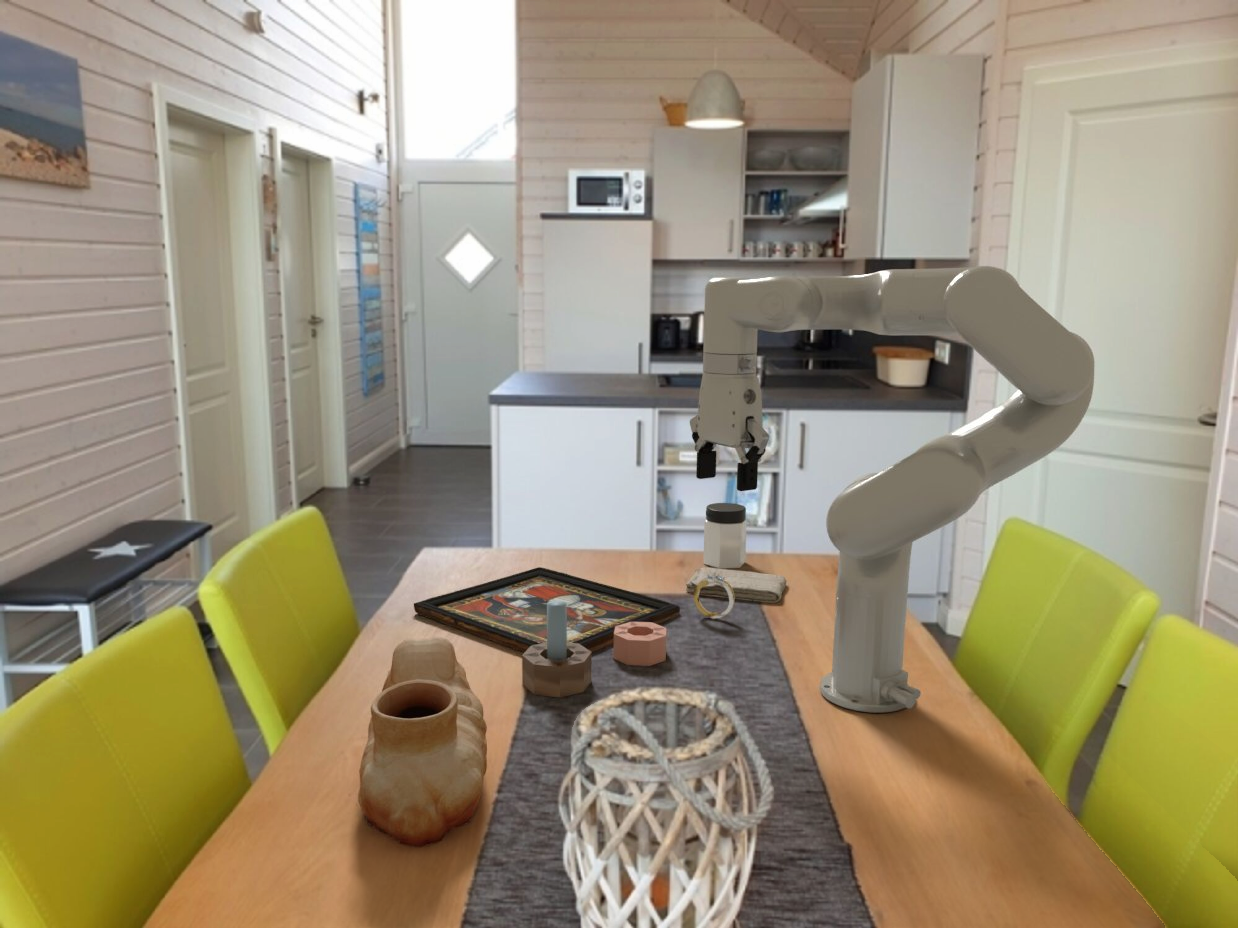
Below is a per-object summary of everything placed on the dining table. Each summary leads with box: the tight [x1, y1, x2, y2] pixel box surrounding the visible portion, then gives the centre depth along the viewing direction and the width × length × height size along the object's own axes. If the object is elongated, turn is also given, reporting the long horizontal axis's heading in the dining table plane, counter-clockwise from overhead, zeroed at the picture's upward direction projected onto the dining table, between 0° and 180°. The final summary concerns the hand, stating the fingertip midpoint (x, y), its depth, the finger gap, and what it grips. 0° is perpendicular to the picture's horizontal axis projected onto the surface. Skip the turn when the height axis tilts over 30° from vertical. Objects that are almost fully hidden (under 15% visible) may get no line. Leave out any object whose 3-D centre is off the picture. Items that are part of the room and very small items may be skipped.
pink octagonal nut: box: [612, 622, 667, 667], centre depth 148 cm, size 8×8×4 cm
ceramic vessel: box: [357, 636, 488, 848], centre depth 108 cm, size 14×26×15 cm, turn 8°
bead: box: [521, 642, 592, 699], centre depth 137 cm, size 9×9×4 cm
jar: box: [703, 502, 748, 569], centre depth 197 cm, size 9×8×12 cm
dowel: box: [547, 601, 567, 660], centre depth 136 cm, size 3×3×12 cm
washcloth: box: [685, 566, 787, 604], centre depth 181 cm, size 12×18×3 cm, turn 74°
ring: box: [693, 572, 736, 620], centre depth 164 cm, size 7×3×8 cm, turn 62°
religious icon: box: [413, 566, 681, 654], centre depth 166 cm, size 38×35×3 cm
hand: (725, 483), depth 138 cm, fingers open, 9 cm apart
